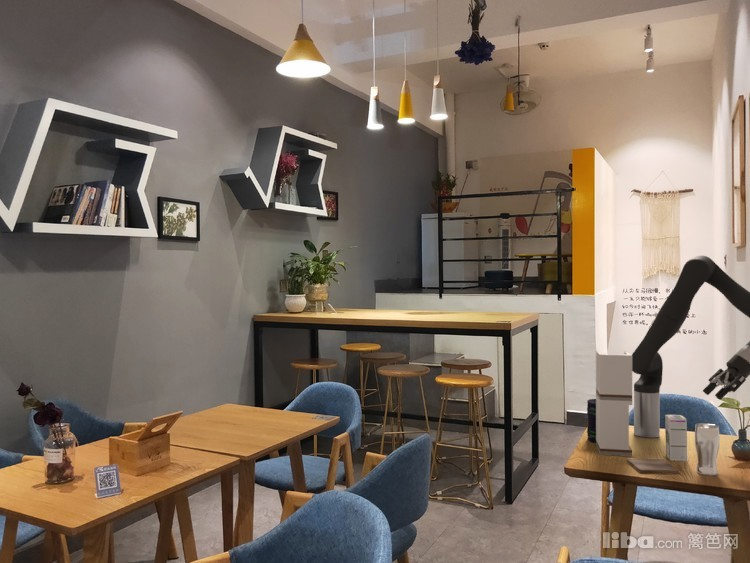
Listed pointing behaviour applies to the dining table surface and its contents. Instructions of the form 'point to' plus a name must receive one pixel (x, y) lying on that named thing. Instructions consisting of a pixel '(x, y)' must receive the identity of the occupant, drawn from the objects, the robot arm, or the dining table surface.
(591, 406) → the storage jar
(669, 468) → the walnut board
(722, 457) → the dining table surface
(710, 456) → the beer glass
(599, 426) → the white stacked pillar
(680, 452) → the syrup box
